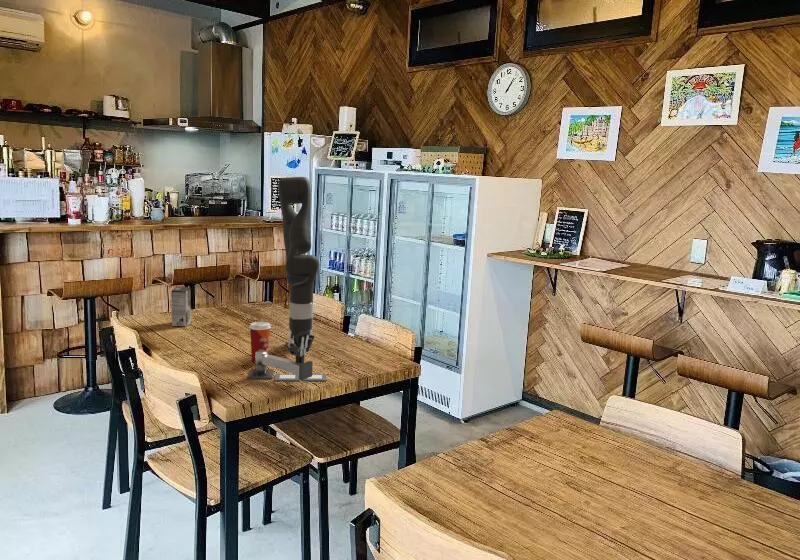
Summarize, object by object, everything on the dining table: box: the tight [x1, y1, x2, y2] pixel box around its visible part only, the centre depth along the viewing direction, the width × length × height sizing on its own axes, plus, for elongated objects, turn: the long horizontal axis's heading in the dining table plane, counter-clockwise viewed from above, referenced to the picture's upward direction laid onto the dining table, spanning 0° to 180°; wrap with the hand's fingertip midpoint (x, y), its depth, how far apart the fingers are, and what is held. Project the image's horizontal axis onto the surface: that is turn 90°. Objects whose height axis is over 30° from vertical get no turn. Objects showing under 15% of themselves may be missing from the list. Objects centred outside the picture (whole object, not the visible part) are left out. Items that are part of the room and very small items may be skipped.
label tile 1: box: [274, 373, 300, 382], centre depth 206 cm, size 6×8×1 cm
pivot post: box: [247, 363, 275, 380], centre depth 207 cm, size 8×8×4 cm
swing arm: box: [255, 351, 313, 381], centre depth 202 cm, size 23×5×5 cm, turn 57°
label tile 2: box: [301, 373, 327, 382], centre depth 207 cm, size 6×8×1 cm
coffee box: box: [170, 286, 192, 328], centre depth 267 cm, size 9×6×16 cm
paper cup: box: [248, 321, 272, 364], centre depth 222 cm, size 8×8×14 cm
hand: (299, 365), depth 202 cm, fingers closed
